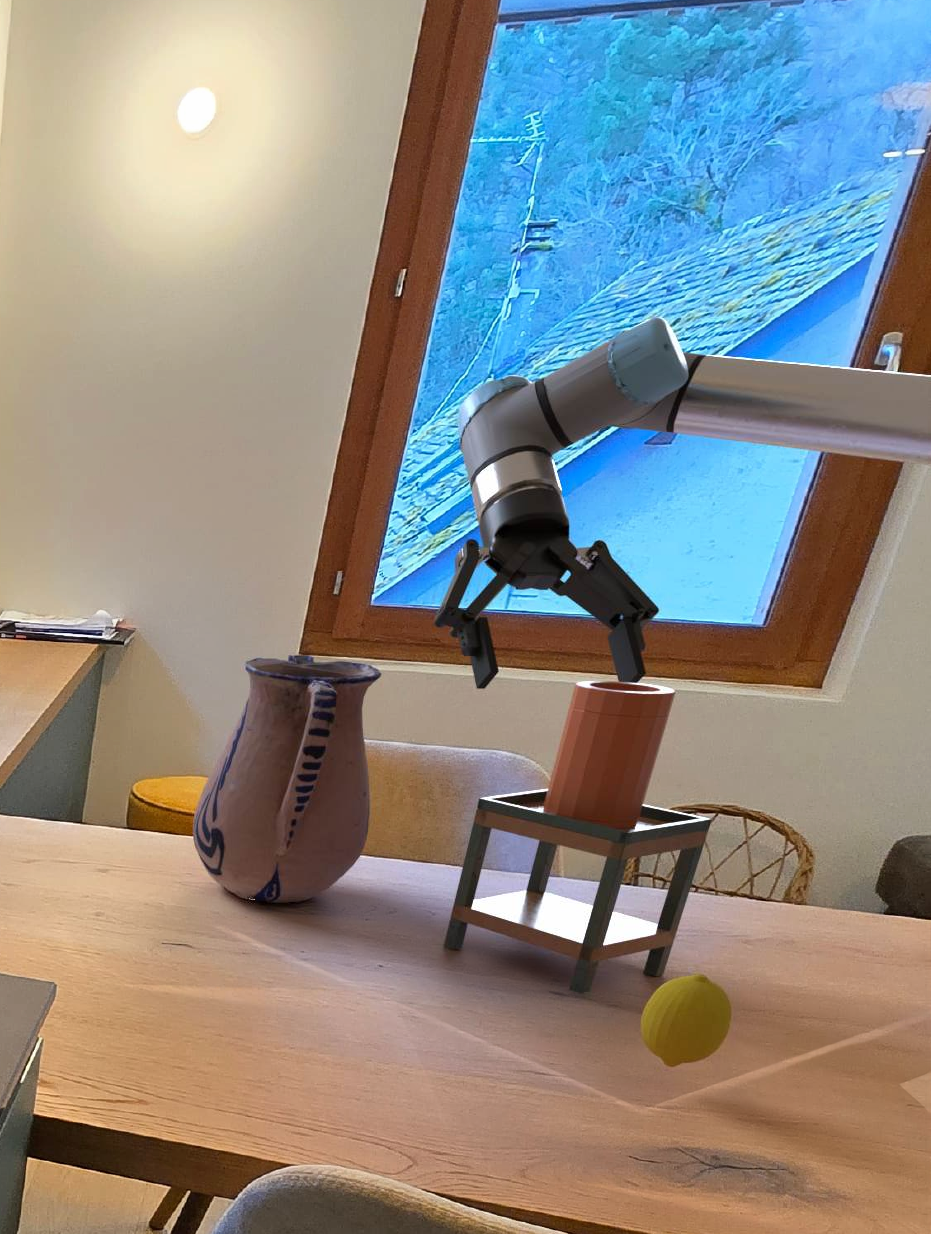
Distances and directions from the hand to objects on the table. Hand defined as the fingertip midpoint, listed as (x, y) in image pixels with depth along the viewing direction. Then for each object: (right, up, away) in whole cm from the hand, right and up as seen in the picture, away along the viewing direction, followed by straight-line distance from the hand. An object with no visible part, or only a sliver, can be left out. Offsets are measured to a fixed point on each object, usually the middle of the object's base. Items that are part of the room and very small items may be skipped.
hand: (560, 681), depth 127 cm
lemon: (-6, -37, -23) cm, 44 cm away
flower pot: (-1, -14, -5) cm, 15 cm away
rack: (-1, -27, 0) cm, 27 cm away
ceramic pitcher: (-20, -19, +18) cm, 33 cm away
